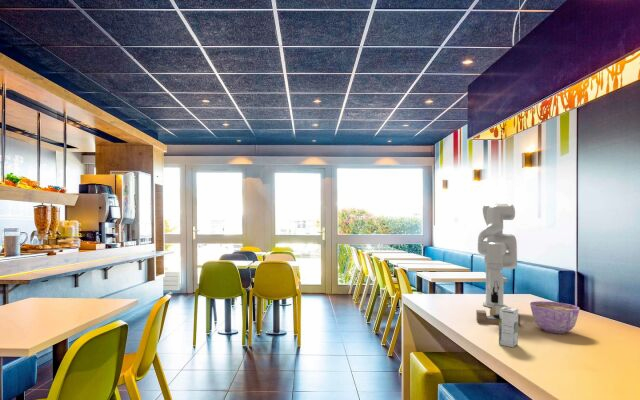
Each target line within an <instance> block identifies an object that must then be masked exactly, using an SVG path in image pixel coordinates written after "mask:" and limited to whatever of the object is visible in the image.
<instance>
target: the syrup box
mask: <svg viewBox="0 0 640 400" xmlns="http://www.w3.org/2000/svg"><path fill="white" fill-rule="evenodd" d="M518 314H519V309H518V308H515V307H510V306H508V307H503V308H501V309H500V316H499V324H498V327H499V328H498V345H499V346H503V345H504V347H509V348H515V347H516V346H518V344H519V343H518V342H519V340H518V339H519V337H518V336H519V326H518Z"/></svg>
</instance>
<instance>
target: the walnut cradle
mask: <svg viewBox="0 0 640 400" xmlns="http://www.w3.org/2000/svg"><path fill="white" fill-rule="evenodd" d="M475 319H476V322H477V323H479V324H492V325H499V317H497V316H490V315H487V311H486V310H484V309H476V315H475ZM520 326H521V315H520V314H519V313H518V327H520Z"/></svg>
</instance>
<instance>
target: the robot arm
mask: <svg viewBox="0 0 640 400" xmlns="http://www.w3.org/2000/svg"><path fill="white" fill-rule="evenodd" d="M482 215H483V218H484V219H483V220H484V222H485V223H486V226H485V227H484V228H483V229H482V230H481V231H480V233H479V234H478V237H477V252H478V253H479V255H482V256H484V257H483V258H484V265H485V266H484V267H485V301H484V302H483V303H482V305H483V306H484V307H487V308H490V309H492V308H493V307H494V306H507V304H505V303H504V275H503V272H501V271H503V270H514V269H516V268H517V265H518V245H517V244H518V243H517V238H516V236H515V235H514V234H509V233H507V234H506V233H504V232H503V230H504V221H512V220H514V219H515V218H516V217H515V216H516V209H515V206H514V204H512V203H486V204H484V205H483V206H482ZM485 239H486V240H485Z"/></svg>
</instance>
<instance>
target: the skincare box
mask: <svg viewBox="0 0 640 400" xmlns="http://www.w3.org/2000/svg"><path fill="white" fill-rule="evenodd" d="M503 307H509V306H508V305H506V306H494V307H493V308H490V309H489V316H497V317H499V316H500V309H501V308H503Z"/></svg>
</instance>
